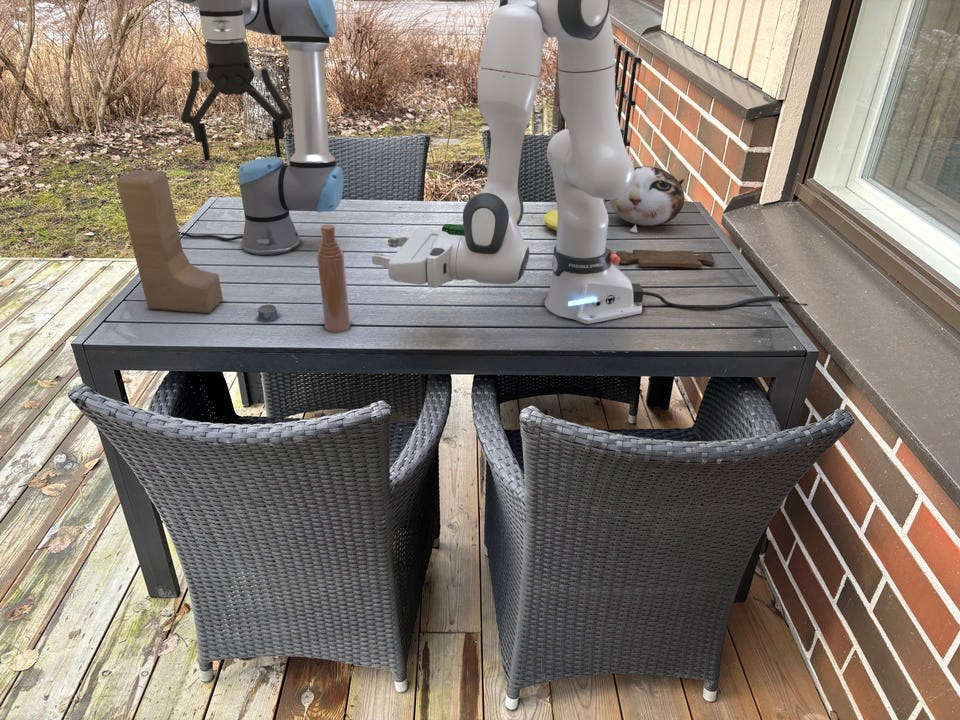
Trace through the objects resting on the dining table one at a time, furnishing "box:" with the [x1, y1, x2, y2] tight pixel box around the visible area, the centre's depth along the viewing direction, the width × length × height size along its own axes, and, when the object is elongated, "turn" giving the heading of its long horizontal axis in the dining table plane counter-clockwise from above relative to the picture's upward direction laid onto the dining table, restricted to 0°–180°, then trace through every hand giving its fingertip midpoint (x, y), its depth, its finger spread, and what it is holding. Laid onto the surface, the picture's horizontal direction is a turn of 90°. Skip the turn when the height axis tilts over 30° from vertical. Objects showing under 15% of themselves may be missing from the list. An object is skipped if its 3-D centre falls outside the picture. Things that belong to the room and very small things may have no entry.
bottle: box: [316, 224, 351, 333], centre depth 151 cm, size 6×6×23 cm
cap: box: [257, 304, 278, 322], centre depth 160 cm, size 4×4×2 cm
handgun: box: [441, 223, 465, 236], centre depth 207 cm, size 16×3×15 cm
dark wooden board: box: [615, 249, 715, 269], centre depth 190 cm, size 26×2×10 cm
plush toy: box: [609, 165, 685, 233], centre depth 210 cm, size 22×18×20 cm
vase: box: [543, 208, 558, 232], centre depth 209 cm, size 16×16×7 cm
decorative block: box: [116, 169, 224, 314], centre depth 157 cm, size 8×15×30 cm, turn 82°
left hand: (243, 157), depth 142 cm, fingers open, 13 cm apart
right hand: (381, 249), depth 145 cm, fingers open, 8 cm apart
